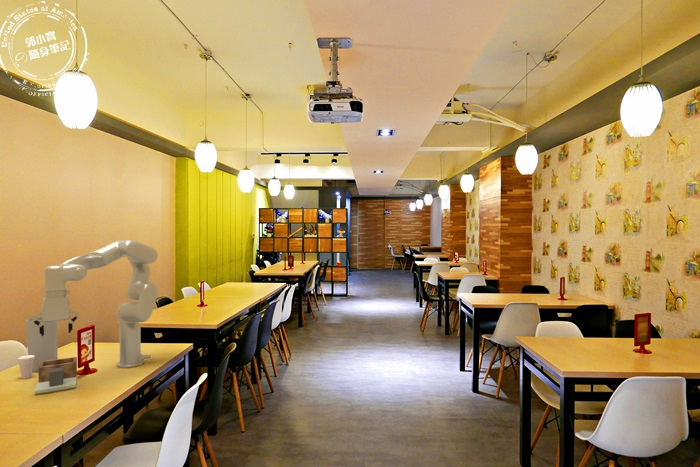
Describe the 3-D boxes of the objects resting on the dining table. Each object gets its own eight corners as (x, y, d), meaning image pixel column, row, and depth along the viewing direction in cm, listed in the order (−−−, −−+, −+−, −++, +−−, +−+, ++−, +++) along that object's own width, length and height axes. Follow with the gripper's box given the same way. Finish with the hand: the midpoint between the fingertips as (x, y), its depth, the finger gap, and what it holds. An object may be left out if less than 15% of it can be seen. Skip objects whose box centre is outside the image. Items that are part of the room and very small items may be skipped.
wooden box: (76, 373, 206) (76, 356, 206) (76, 380, 196) (76, 362, 196) (41, 378, 199) (40, 361, 199) (38, 385, 189) (38, 367, 189)
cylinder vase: (55, 370, 212) (54, 319, 212) (24, 374, 206) (23, 321, 206) (59, 363, 223) (59, 315, 223) (30, 366, 217) (29, 317, 217)
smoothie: (25, 380, 197) (25, 349, 197) (14, 379, 198) (14, 349, 198) (38, 375, 203) (38, 346, 203) (27, 375, 204) (27, 345, 204)
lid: (76, 381, 195) (76, 363, 195) (75, 389, 185) (75, 370, 185) (37, 388, 187) (37, 369, 187) (34, 396, 177) (34, 376, 177)
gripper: (79, 291, 194) (80, 329, 194) (31, 295, 185) (32, 334, 185) (79, 293, 187) (79, 332, 187) (29, 297, 178) (30, 338, 178)
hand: (56, 333), depth 186 cm, fingers open, 9 cm apart
